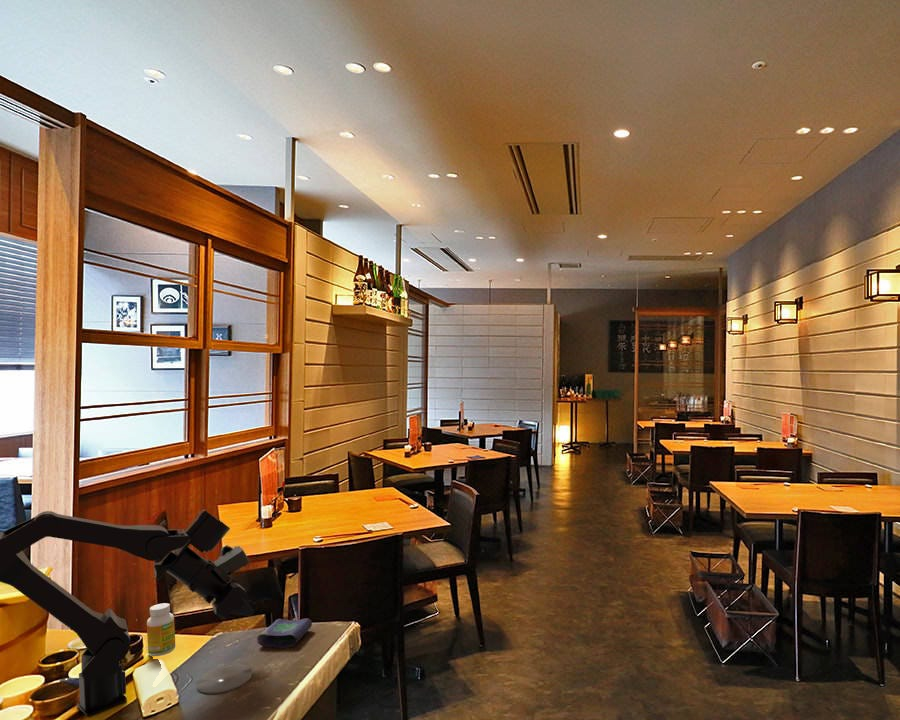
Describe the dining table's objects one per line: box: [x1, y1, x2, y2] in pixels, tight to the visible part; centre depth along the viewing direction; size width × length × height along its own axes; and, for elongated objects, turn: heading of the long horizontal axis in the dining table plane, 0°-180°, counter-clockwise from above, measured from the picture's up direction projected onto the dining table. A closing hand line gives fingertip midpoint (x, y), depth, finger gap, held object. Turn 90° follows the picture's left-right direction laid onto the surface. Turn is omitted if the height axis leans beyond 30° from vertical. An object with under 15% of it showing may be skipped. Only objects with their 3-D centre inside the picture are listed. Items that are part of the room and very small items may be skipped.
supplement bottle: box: [146, 602, 176, 657], centre depth 129 cm, size 5×5×10 cm
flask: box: [256, 617, 313, 649], centre depth 131 cm, size 9×3×11 cm
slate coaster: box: [196, 663, 253, 695], centre depth 113 cm, size 10×10×1 cm
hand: (252, 613), depth 122 cm, fingers closed
